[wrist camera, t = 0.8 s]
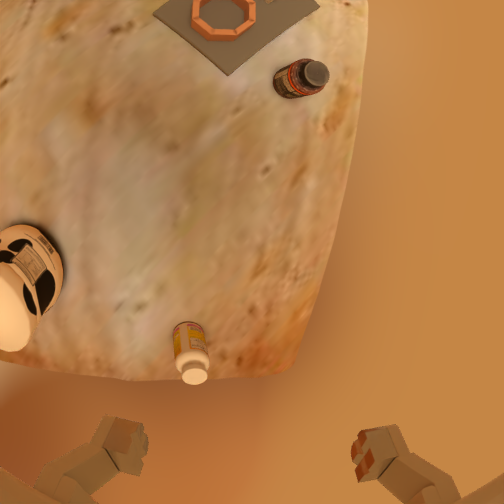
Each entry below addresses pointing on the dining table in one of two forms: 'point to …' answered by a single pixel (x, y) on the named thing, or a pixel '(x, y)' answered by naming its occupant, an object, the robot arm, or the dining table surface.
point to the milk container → (26, 283)
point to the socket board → (232, 25)
